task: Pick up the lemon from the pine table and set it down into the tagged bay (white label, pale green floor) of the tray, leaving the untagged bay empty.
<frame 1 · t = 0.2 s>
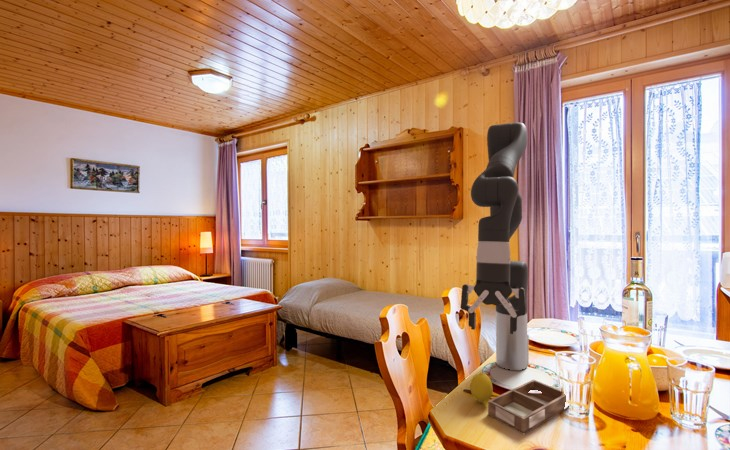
hand: (492, 331, 88), 22 cm above the table, tool pointing down, fingers open, 8 cm apart
tray: (529, 411, 94), on the table
lemon: (481, 403, 99), on the table
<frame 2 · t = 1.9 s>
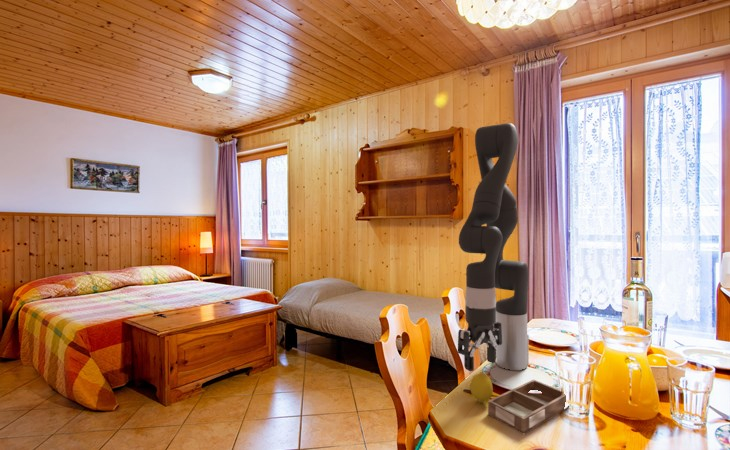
hand: (480, 366, 98), 10 cm above the table, tool pointing down, fingers open, 8 cm apart
nothing on the table moved.
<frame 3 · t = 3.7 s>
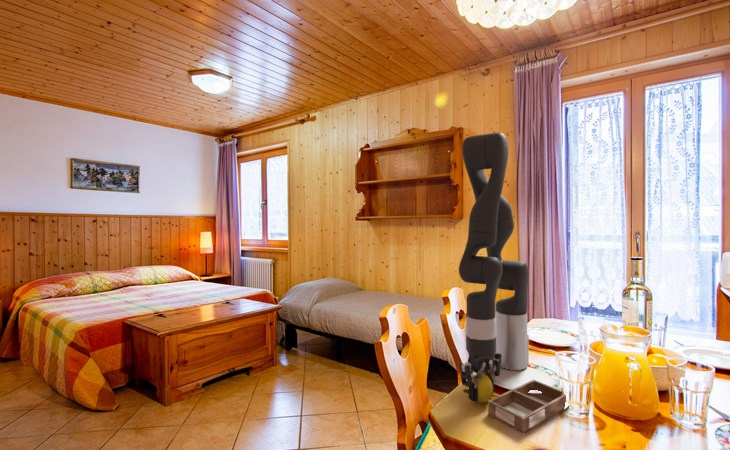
hand: (481, 397, 98), 2 cm above the table, tool pointing down, fingers closed on lemon, 5 cm apart
lemon: (481, 403, 99), on the table, touching gripper
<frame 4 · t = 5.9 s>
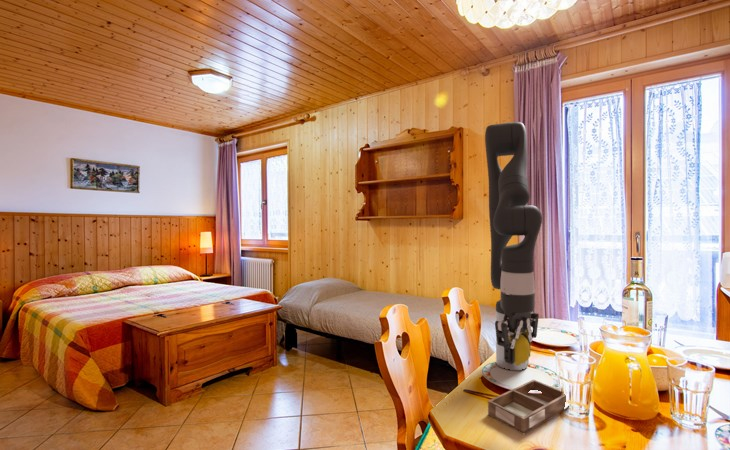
hand: (517, 359, 91), 14 cm above the table, tool pointing down, fingers closed on lemon, 5 cm apart
lemon: (517, 366, 91), point 13 cm above the table, touching gripper
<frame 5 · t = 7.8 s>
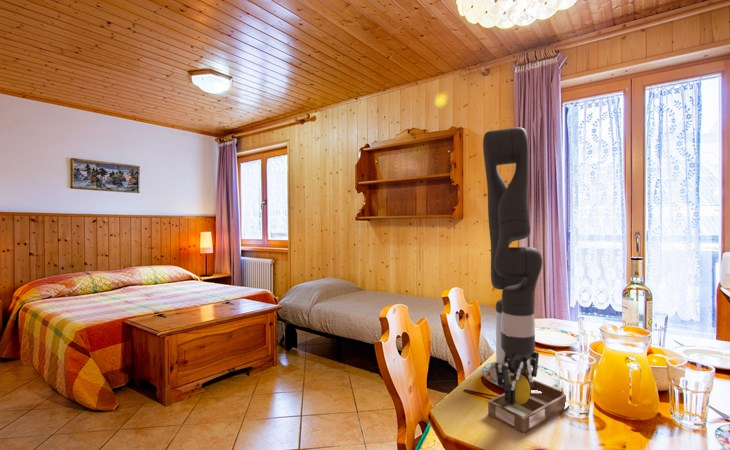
hand: (517, 399, 91), 4 cm above the table, tool pointing down, fingers closed on lemon, 5 cm apart
lemon: (517, 406, 91), point 3 cm above the table, touching gripper
when the fingers open (4 cm above the table, at t = 8.4 s): lemon drops 2 cm, resting on tray.
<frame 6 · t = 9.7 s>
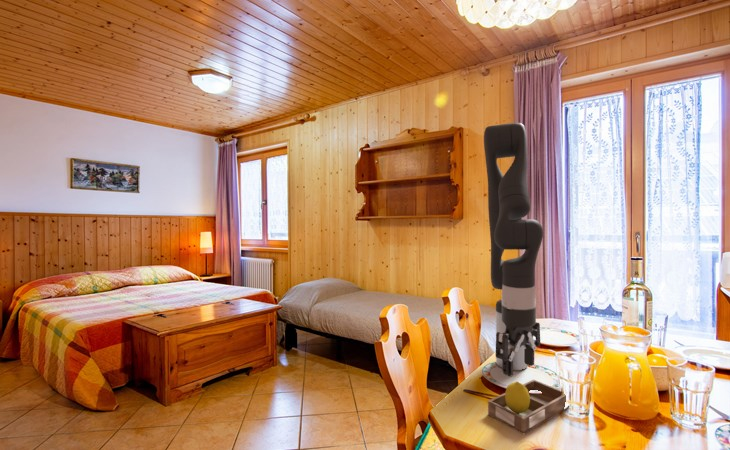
hand: (518, 369, 91), 12 cm above the table, tool pointing down, fingers open, 8 cm apart
lemon: (517, 414, 92), point 1 cm above the table, touching tray
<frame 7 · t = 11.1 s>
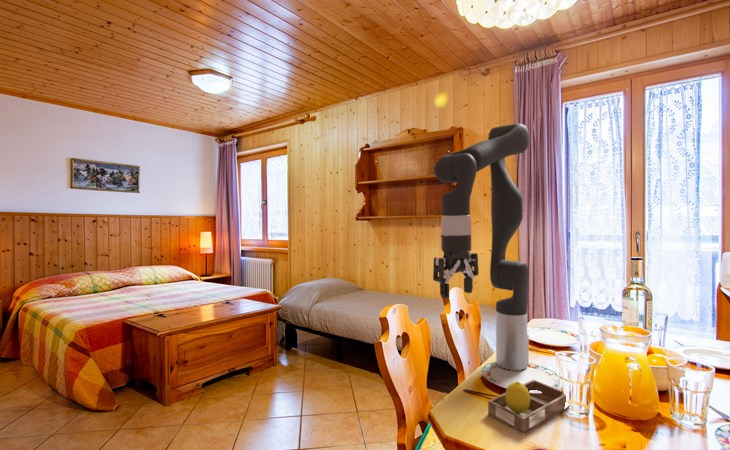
hand: (456, 295, 98), 28 cm above the table, tool pointing down, fingers open, 8 cm apart
nothing on the table moved.
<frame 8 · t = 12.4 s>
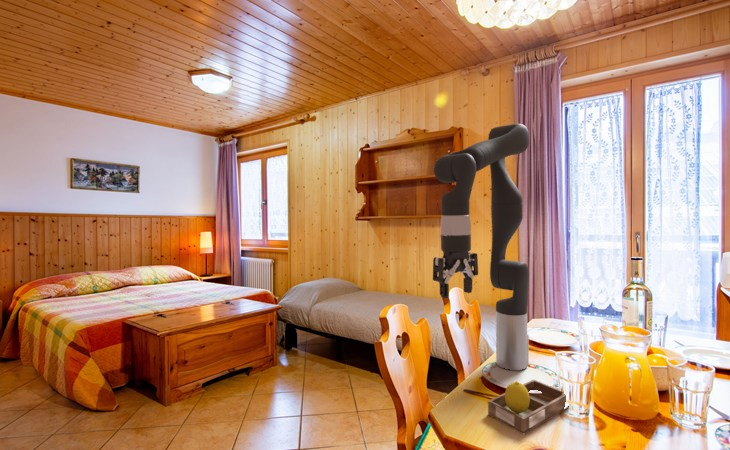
hand: (456, 295, 99), 28 cm above the table, tool pointing down, fingers open, 8 cm apart
nothing on the table moved.
at the end: lemon inside the target area on the tray (0.1 cm from its centre), point 0.5 cm above the tray's base; the gripper is holding nothing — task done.
